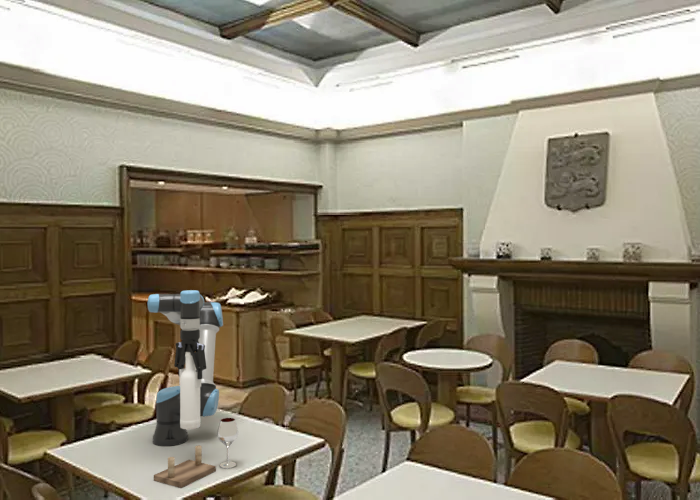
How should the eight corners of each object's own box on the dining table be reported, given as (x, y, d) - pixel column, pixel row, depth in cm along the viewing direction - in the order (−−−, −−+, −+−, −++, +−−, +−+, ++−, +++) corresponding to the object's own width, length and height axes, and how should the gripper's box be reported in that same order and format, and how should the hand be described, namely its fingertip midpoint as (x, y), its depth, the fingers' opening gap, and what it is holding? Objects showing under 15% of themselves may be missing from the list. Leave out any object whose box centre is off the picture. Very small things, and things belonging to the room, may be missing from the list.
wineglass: (218, 461, 239) (218, 417, 238) (239, 461, 239) (239, 416, 239) (216, 469, 230) (215, 423, 230) (237, 468, 231) (237, 422, 231)
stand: (153, 480, 220) (153, 456, 220) (189, 464, 236) (188, 441, 236) (181, 488, 213) (181, 463, 213) (215, 471, 229) (215, 447, 229)
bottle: (203, 427, 237) (203, 351, 237) (184, 430, 232) (183, 353, 232) (196, 422, 243) (196, 349, 243) (177, 425, 239) (177, 351, 239)
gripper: (164, 328, 240) (164, 385, 239) (202, 331, 229) (202, 390, 229) (178, 326, 246) (178, 381, 246) (216, 329, 236) (216, 387, 236)
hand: (190, 386), depth 238 cm, fingers closed on bottle, 8 cm apart
